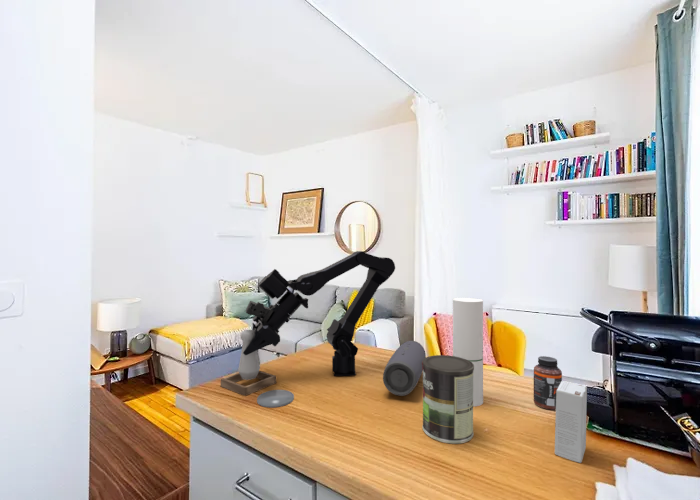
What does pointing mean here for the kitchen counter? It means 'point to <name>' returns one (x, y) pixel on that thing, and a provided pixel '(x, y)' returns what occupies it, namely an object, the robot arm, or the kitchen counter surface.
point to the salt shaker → (248, 358)
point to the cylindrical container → (470, 339)
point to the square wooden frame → (245, 390)
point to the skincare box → (570, 421)
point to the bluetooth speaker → (404, 368)
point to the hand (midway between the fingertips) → (243, 352)
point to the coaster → (275, 398)
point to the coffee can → (448, 398)
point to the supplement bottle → (546, 382)
